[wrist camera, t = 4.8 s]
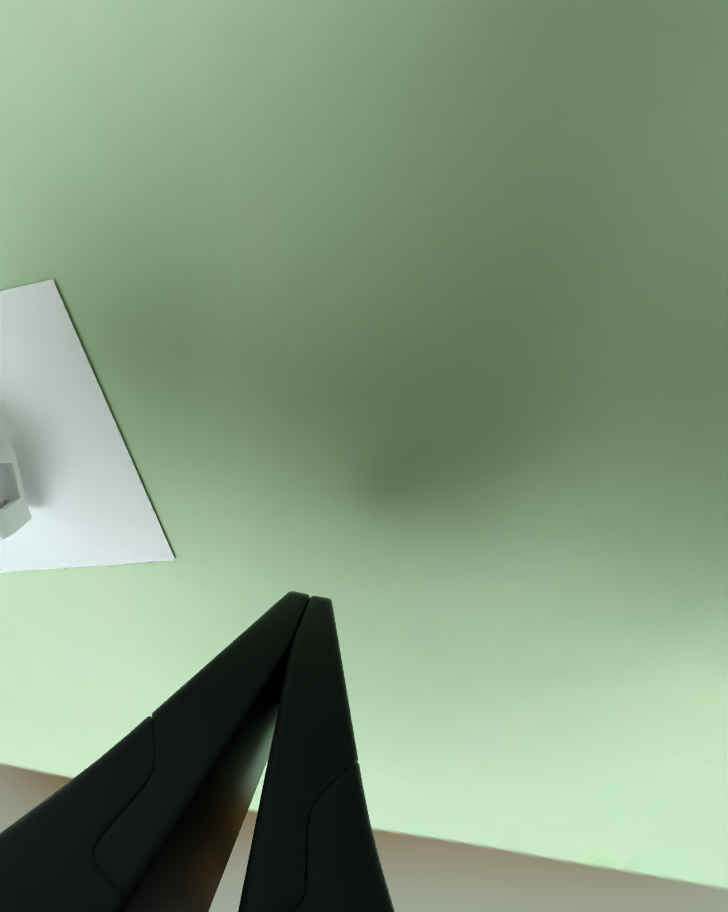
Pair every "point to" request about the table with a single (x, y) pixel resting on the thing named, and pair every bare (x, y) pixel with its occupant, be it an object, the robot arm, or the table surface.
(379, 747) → the table surface
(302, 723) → the robot arm
